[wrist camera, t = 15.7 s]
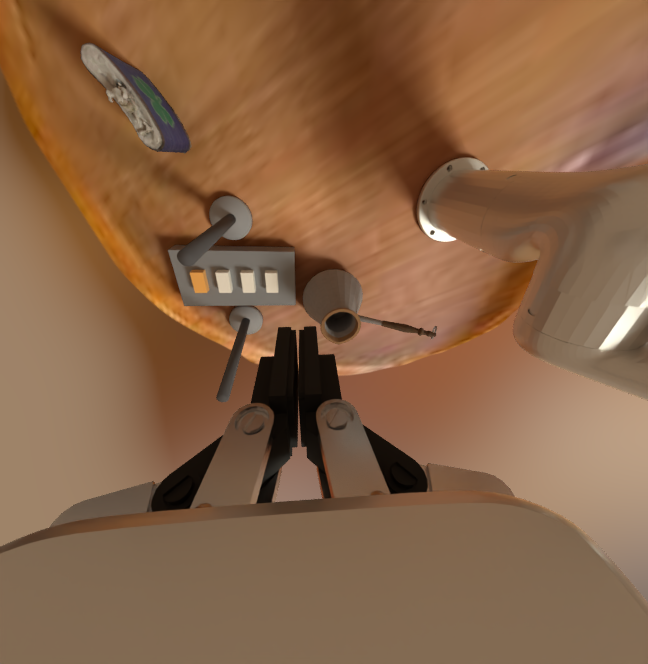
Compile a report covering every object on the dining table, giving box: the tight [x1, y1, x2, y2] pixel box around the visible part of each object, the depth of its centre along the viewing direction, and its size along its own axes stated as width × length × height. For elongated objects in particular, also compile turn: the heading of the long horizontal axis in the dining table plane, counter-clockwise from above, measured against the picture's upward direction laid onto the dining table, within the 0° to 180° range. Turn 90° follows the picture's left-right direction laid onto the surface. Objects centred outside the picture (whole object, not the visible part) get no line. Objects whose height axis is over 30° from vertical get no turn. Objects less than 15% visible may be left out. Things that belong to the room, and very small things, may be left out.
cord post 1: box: [177, 196, 252, 267], centre depth 32 cm, size 6×6×21 cm
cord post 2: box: [216, 305, 263, 402], centre depth 43 cm, size 6×6×21 cm
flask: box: [81, 43, 191, 153], centre depth 29 cm, size 9×3×11 cm, turn 28°
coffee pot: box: [303, 269, 437, 344], centre depth 45 cm, size 21×12×15 cm, turn 85°
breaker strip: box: [168, 245, 296, 306], centre depth 44 cm, size 20×10×4 cm, turn 87°
